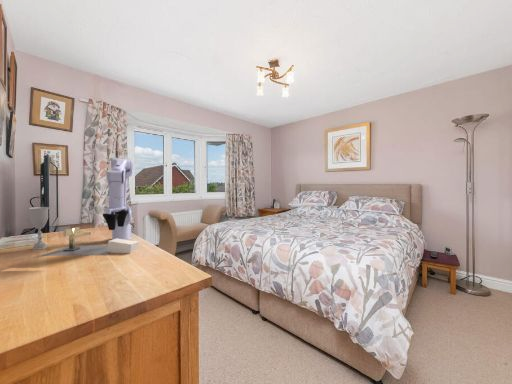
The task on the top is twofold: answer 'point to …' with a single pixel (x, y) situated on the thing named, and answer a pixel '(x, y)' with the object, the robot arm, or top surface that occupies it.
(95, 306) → the top surface
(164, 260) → the top surface
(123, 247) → the cover
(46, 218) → the chalice
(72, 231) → the t key
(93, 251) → the plate
